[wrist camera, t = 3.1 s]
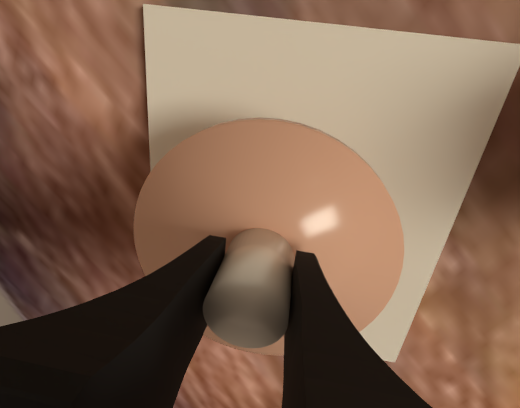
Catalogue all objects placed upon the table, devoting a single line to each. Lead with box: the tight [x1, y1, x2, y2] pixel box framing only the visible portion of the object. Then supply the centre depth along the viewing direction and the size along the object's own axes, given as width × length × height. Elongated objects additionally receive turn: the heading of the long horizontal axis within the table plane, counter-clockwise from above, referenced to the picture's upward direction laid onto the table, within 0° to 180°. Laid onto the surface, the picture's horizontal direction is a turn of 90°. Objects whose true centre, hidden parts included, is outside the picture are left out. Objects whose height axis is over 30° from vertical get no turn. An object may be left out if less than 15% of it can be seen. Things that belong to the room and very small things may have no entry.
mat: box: [143, 4, 520, 362], centre depth 15 cm, size 16×14×1 cm
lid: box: [134, 117, 404, 355], centre depth 11 cm, size 10×10×4 cm
